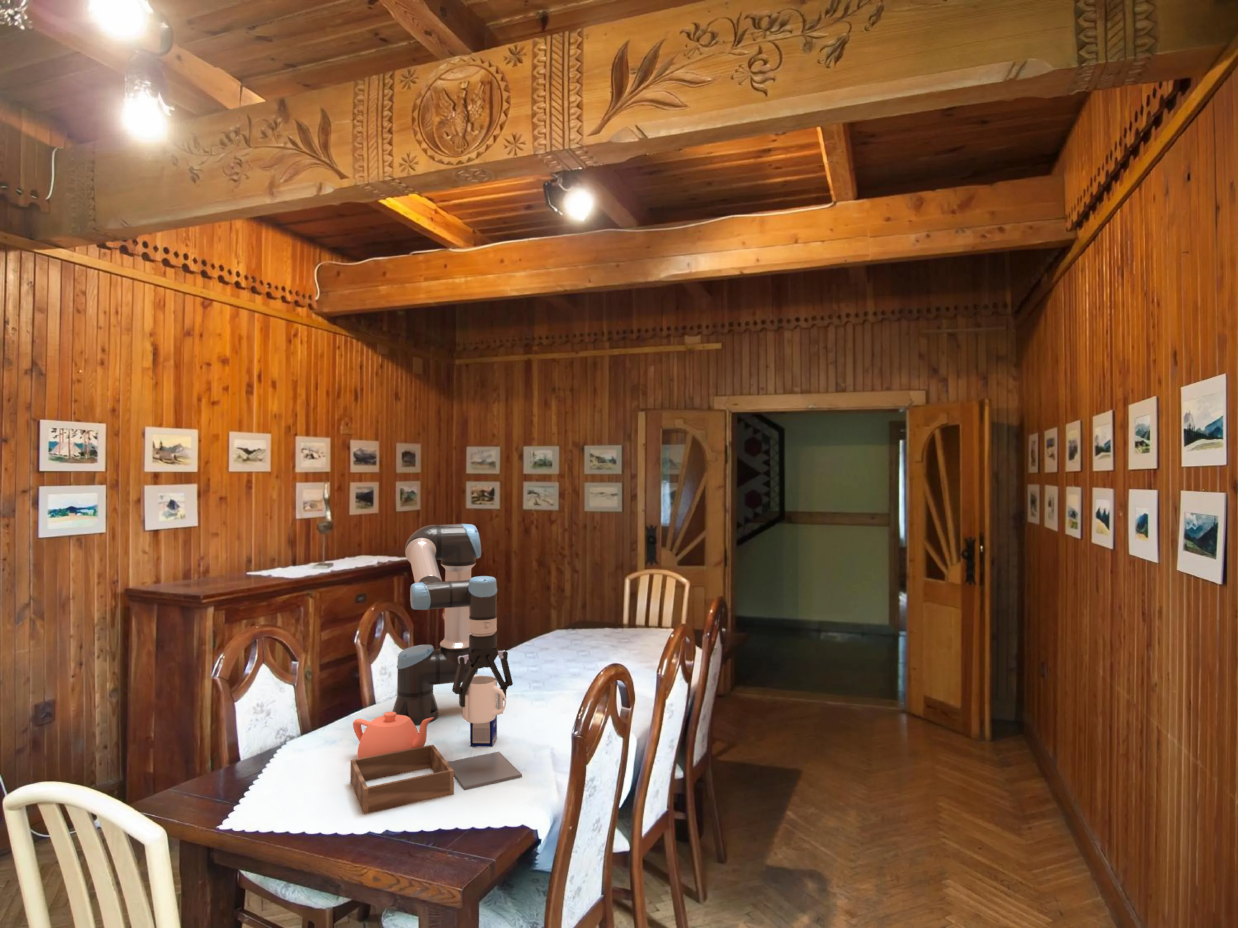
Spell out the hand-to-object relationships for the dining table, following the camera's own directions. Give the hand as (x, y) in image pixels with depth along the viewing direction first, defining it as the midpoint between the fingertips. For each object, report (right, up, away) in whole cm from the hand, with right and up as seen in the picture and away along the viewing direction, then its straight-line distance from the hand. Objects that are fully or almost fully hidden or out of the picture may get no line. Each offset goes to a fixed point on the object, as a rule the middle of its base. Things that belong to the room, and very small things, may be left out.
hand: (482, 715), depth 198 cm
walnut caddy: (-19, -15, -11) cm, 27 cm away
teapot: (-27, -16, +8) cm, 32 cm away
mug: (+1, -2, 0) cm, 2 cm away
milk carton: (-4, -16, +21) cm, 27 cm away
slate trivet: (0, -15, 0) cm, 15 cm away
